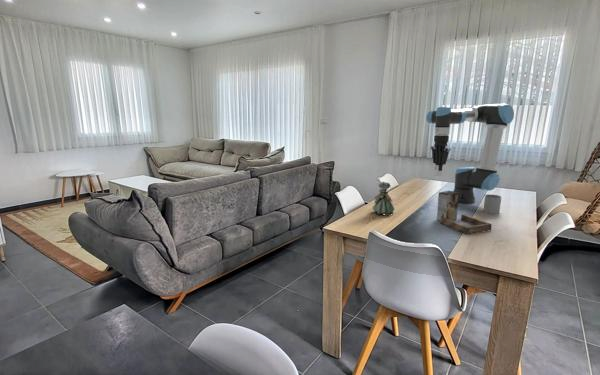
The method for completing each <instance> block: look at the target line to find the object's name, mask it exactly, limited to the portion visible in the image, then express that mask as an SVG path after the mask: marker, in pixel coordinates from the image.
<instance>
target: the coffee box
mask: <svg viewBox="0 0 600 375" xmlns="http://www.w3.org/2000/svg"><path fill="white" fill-rule="evenodd" d="M458 196H459V193H458V192H453V190H445V191H440V192H438V196H437V198H438V199H437V209H436V210H437V211H436V220H438V221H441V217H444V218H447V219H449V220H457V217H458V206H459V202H458Z"/></svg>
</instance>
